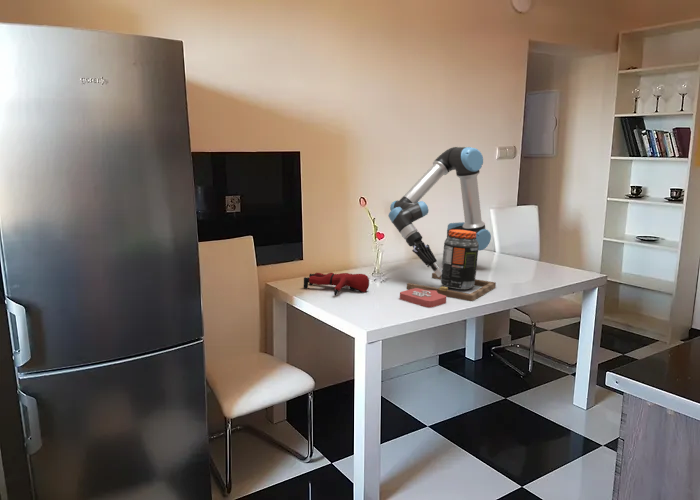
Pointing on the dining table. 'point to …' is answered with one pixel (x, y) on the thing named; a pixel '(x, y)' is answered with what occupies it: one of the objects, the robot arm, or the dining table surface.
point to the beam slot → (485, 288)
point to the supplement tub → (460, 259)
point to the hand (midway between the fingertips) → (440, 275)
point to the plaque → (423, 297)
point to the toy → (339, 281)
